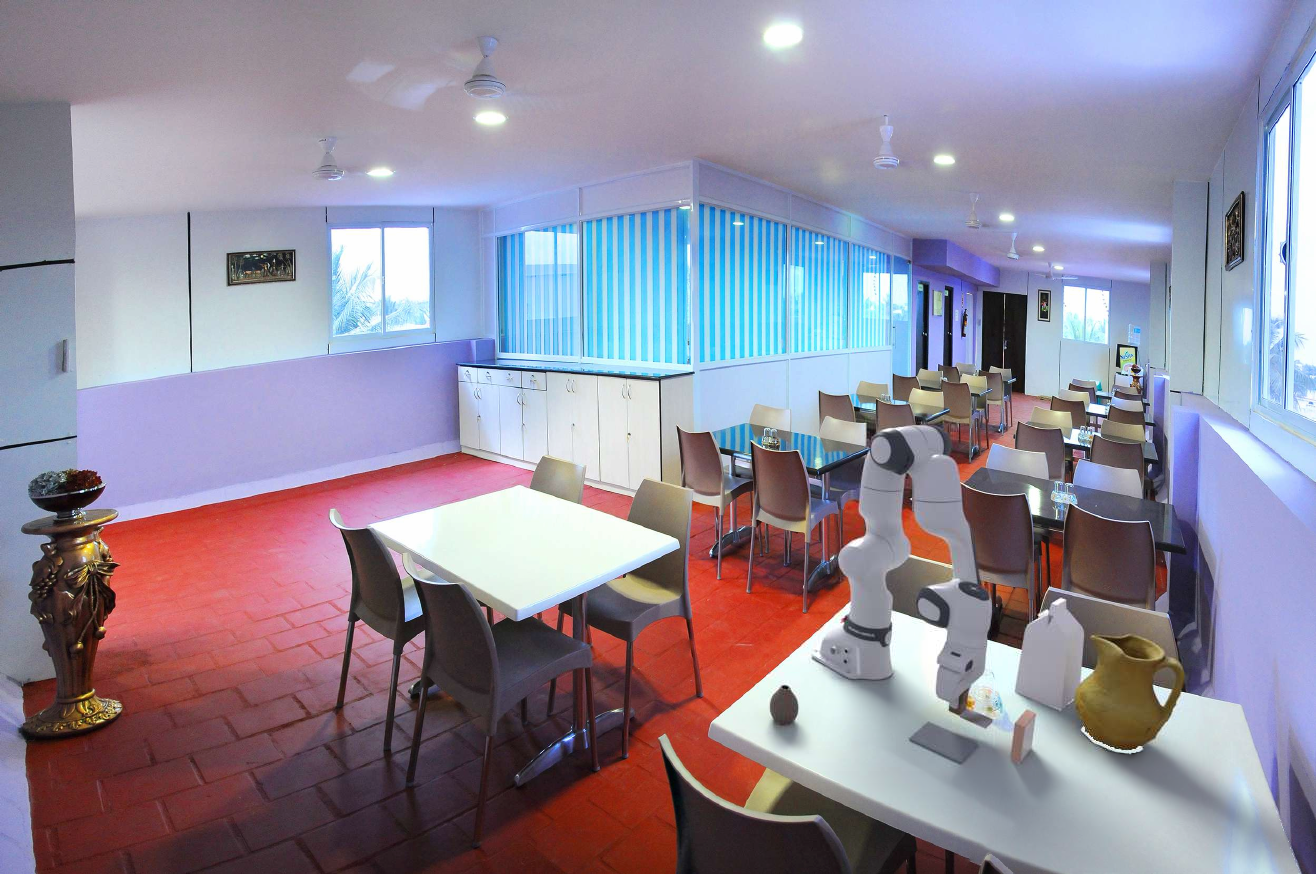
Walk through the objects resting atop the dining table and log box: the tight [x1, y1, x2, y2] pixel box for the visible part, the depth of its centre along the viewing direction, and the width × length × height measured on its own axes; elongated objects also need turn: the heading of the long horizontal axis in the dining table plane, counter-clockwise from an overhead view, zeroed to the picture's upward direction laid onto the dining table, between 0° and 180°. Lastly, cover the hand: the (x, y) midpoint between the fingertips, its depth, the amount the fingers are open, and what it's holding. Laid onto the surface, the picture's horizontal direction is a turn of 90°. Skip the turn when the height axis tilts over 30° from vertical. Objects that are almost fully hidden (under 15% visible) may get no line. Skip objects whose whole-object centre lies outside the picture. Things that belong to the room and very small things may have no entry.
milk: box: [1014, 597, 1085, 711], centre depth 181 cm, size 12×12×26 cm
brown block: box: [948, 689, 994, 730], centre depth 164 cm, size 9×4×6 cm, turn 45°
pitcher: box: [1073, 633, 1185, 750], centre depth 161 cm, size 17×19×25 cm
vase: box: [769, 684, 800, 726], centre depth 167 cm, size 7×7×9 cm
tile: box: [1009, 709, 1037, 764], centre depth 156 cm, size 2×8×9 cm, turn 135°
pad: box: [908, 721, 979, 765], centre depth 160 cm, size 12×10×1 cm
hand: (958, 703), depth 166 cm, fingers closed on brown block, 3 cm apart
